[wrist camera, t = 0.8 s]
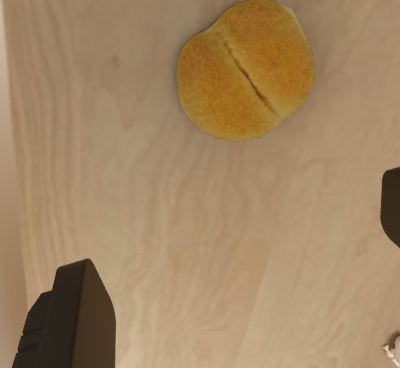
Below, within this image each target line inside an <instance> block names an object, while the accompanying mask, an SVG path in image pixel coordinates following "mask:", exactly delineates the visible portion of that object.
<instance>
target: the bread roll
mask: <svg viewBox="0 0 400 368" xmlns="http://www.w3.org/2000/svg"><path fill="white" fill-rule="evenodd" d="M312 57H313V55H312V51H311V46H310V45H309V43H308V42H307V38H306V36H305V33H304V31H303V30H302V27H301V25H300V22H299V20H298V18H297V17H296V15H295V14H294V12H293V10H292V9H291V8H290V7H289V6H287V5H281V4H277V3H275V2H273V1H270V0H248V1H245V2H242V3H240V4H237V5H235V6H233V7H232V8H230V9H228V10H227V11H226V12H225V13H224V14H223V15H222V16H221V17H220V18H219V19H218V20H217V21H216V22H215V24H213V25H212V26H211V27H210V28H208V29H207V30H206V31H203V32H201V33H199V34H197V35H196V36H194V37H192V38H191V39H190V40H189V41H188V42H187V43H186V45H185V46H184V47H183V49H182V51H181V53H180V57H179V61H178V66H177V89H178V94H179V99H180V103H181V106H182V108H183V110H184V112H185V114H186V115H187V117H188V118H189V119H190V121H191V122H192V123H193V124H194V125H195V126H196V127H197V128H198V129H199V130H200V131H202V132H204V133H205V134H207V135H209V136H212V137H214V138H217V139H221V140H226V141H243V140H251V139H255V138H259V137H261V136H263V135H265V134H267V133H268V132H270V131H271V130H272V129H273V128H275V127H276V126H277V125H278V124H279V123H281V122H282V121H283V120H284V119H286V118H287V117H288V116H290V115H291V114H292V113H294V112H295V111H296V110H297V109H298V108H299V107H300V106H301V105H302V103H303V102H304V100H305V99H306V98H307V96H308V95H309V92H310V90H311V88H312V85H313V82H314V77H315V75H314V64H313V58H312Z"/></svg>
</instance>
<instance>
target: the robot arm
mask: <svg viewBox="0 0 400 368" xmlns="http://www.w3.org/2000/svg"><path fill="white" fill-rule="evenodd" d="M380 218H381V224H382V227H383V229H384V231H385V233H386V235H387V236H388V237H389V239H390V240H391V241H393V242H394V243H395V244H396V245H397V246H398V247H399V248H400V167H398V168H394V169H391V170H387V171H386V172H385V173H384V175H383V178H382V195H381V215H380ZM115 341H116V319H115V312H114V308H113V304H112V301H111V299H110V297H109V295H108V293H107V291H106V289H105V286H104V284H103V282H102V280H101V278H100V276H99V274H98V272H97V270H96V268H95V266H94V264H93V262H92V261H91V260H90V259H84V260H81V261H77V262H74V263H71V264H67V265H64V266H61V267H59V268H58V269H57V271H56V276H55V280H54V284H53V288H52V290H51V291H48V292H45V293H42V294H41V295H40V296H39V298H38V299H37V301H36V302H35V304H34V305H33V306H32V308H31V309H30V311H29V312H28V315H27V319H26V322H25V325H24V329H23V336H21V339H20V342H19V346H18V353H16V356H15V359H14V362H13V366H12V368H115Z"/></svg>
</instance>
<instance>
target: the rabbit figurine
mask: <svg viewBox="0 0 400 368" xmlns="http://www.w3.org/2000/svg"><path fill="white" fill-rule="evenodd" d="M388 347H389V346H388V345H386V346H384V347H382V348H383V349H384V350H386V351H387V353H386V355H387V356H388V357H392V361H393V362H394V363H395V364H396V365H397V366H398V367H399V368H400V363H399V362H398V360H399V361H400V336H399V337H397V338H396V340H395V348H394V349H392V350H391V351H392V352H391V351H390V350H388ZM394 354H395V355H396V356H397V357H396V358H397V359H398V360H397V359H396V358H395V357H394Z"/></svg>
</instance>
